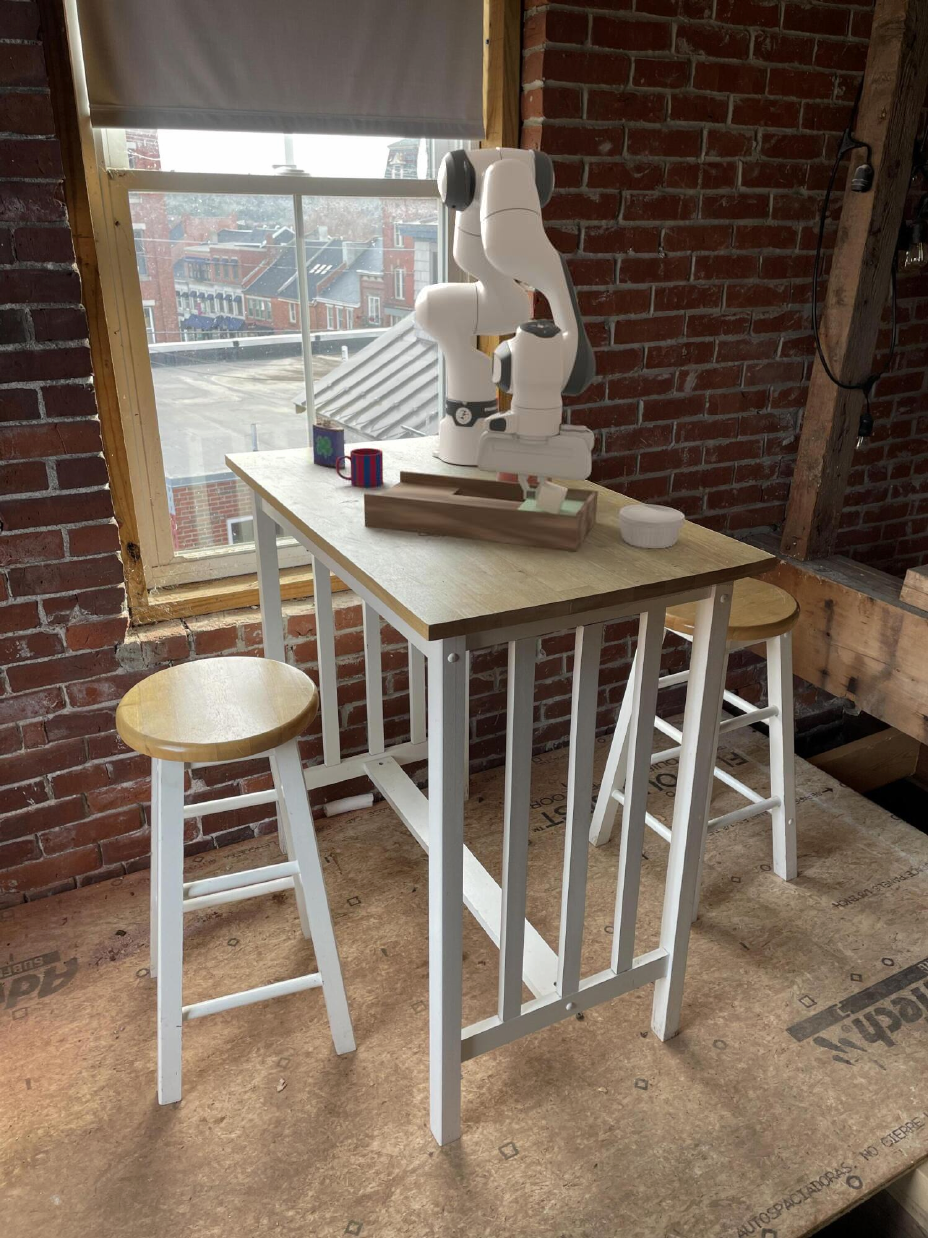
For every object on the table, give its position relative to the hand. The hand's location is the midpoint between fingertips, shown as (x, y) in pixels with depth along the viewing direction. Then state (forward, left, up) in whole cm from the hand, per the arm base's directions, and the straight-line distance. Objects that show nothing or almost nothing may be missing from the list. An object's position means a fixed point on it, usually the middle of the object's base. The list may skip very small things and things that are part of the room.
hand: (531, 499), depth 162 cm
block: (0, +3, -1) cm, 3 cm away
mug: (-18, -42, -6) cm, 46 cm away
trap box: (0, -9, -6) cm, 11 cm away
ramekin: (-2, +21, -6) cm, 22 cm away
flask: (-30, -55, -6) cm, 63 cm away
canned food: (-21, -7, -6) cm, 23 cm away
